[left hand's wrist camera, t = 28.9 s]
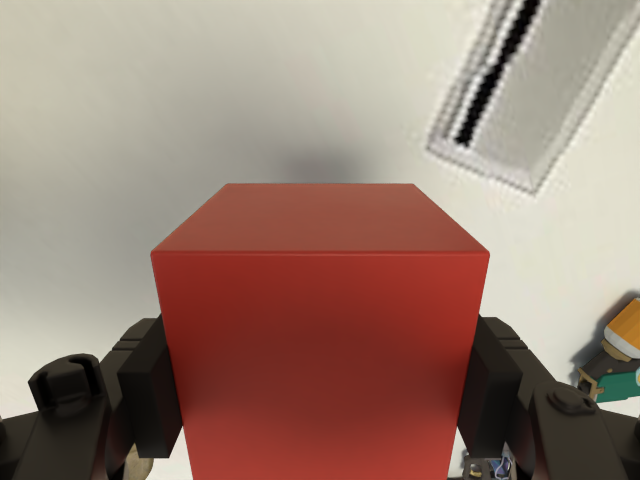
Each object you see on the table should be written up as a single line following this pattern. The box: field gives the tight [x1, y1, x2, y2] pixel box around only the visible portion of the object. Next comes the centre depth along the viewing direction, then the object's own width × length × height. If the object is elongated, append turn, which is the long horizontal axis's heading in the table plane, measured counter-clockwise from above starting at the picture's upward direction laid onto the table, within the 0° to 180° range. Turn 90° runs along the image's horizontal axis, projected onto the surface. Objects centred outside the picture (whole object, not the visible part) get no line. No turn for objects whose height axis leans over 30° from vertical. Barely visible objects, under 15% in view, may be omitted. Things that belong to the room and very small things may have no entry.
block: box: [150, 184, 490, 480], centre depth 13 cm, size 8×8×7 cm
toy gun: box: [462, 441, 514, 480], centre depth 45 cm, size 3×19×10 cm
